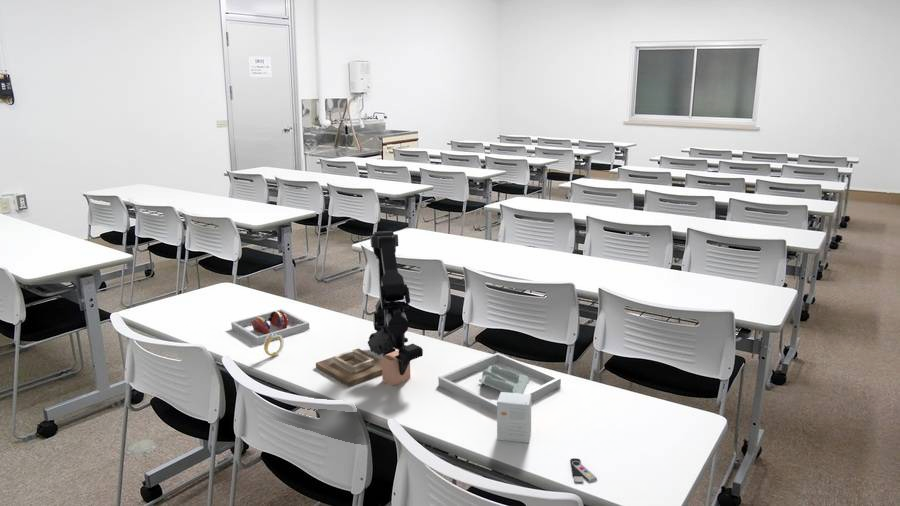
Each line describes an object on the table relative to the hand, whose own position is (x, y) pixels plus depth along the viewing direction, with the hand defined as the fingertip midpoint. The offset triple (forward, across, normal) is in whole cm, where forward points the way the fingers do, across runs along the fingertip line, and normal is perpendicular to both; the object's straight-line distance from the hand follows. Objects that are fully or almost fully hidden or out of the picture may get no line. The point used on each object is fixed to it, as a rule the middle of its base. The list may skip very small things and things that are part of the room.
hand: (396, 371), depth 191 cm
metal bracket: (+3, +25, +20) cm, 32 cm away
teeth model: (+3, -63, -8) cm, 64 cm away
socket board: (+2, -15, -5) cm, 16 cm away
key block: (+3, 0, 0) cm, 3 cm away
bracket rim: (+2, +24, +19) cm, 31 cm away
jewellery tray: (+2, -63, -8) cm, 64 cm away
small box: (+3, +45, +2) cm, 45 cm away
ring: (+3, -41, -18) cm, 45 cm away
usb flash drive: (+3, +66, +2) cm, 66 cm away
